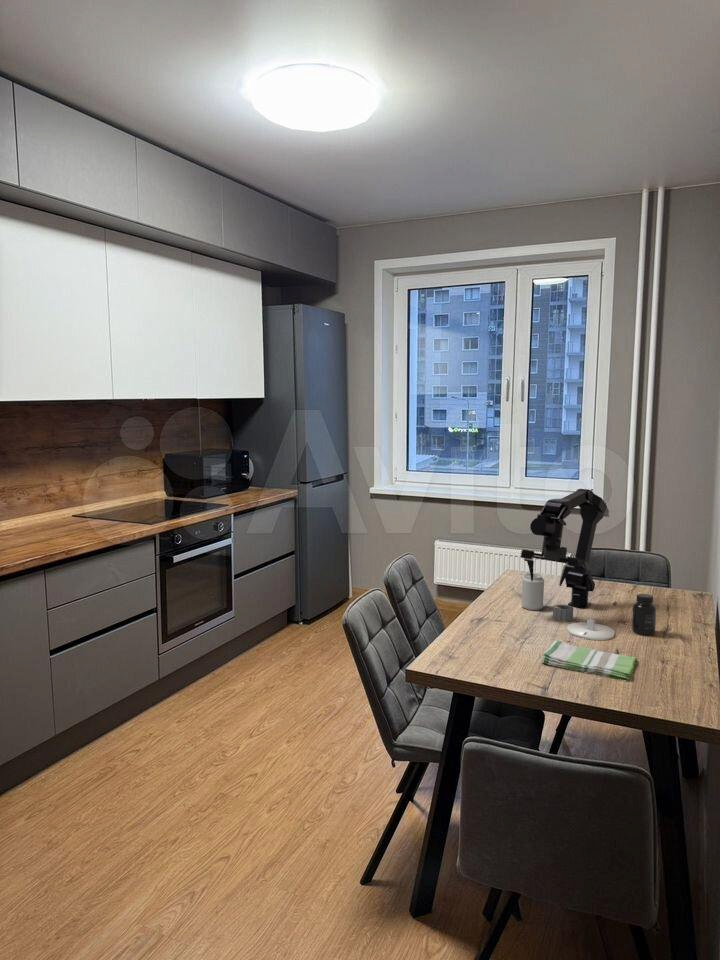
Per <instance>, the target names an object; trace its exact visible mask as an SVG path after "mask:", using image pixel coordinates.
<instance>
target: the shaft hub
mask: <svg viewBox="0 0 720 960" xmlns="http://www.w3.org/2000/svg"><path fill="white" fill-rule="evenodd" d="M567 632H568V634H570V635H572V636H573V637H575V638H579V639H583V638H584V639H583V640H588V639H590V641H608V640H612V639H613V638H614V637H615V630H613V629H612V628H611V627H610V626H606V625H604V624H599V623H596V622H595V619H591V618H588V619H587V620H586V622H584V621H583V622H580V621H579V622H573V623H570V624H568V625H567Z"/></svg>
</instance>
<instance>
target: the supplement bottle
mask: <svg viewBox="0 0 720 960" xmlns="http://www.w3.org/2000/svg"><path fill="white" fill-rule="evenodd" d="M635 601H636V602H634V603H633V605H632V616H631V617H632V618H631V619H632V621H631V622H632V623H631V631H632V632H633V633H635V634H636V635H640V636H653V635H655V633H656V627H657V626H656V624H657V623H656V622H657V607H656V605H655V604H653V603H654V596H653V595H652V594H648V593H637V594H636V600H635Z"/></svg>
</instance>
